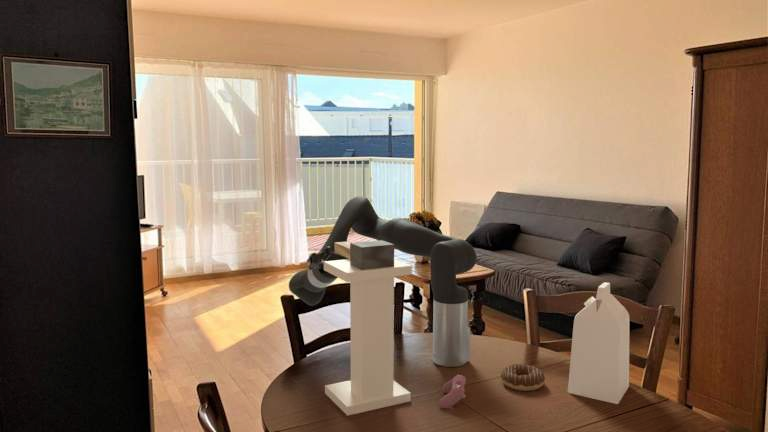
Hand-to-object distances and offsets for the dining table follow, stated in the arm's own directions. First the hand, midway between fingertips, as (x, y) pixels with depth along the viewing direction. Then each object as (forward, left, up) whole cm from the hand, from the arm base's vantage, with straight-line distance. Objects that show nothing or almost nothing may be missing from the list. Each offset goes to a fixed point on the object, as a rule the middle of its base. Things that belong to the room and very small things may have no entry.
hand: (346, 248), depth 149 cm
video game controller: (-17, +23, -34) cm, 44 cm away
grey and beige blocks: (0, +7, -1) cm, 7 cm away
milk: (-52, +33, -34) cm, 70 cm away
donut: (-38, +22, -34) cm, 55 cm away
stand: (0, +12, -33) cm, 35 cm away
